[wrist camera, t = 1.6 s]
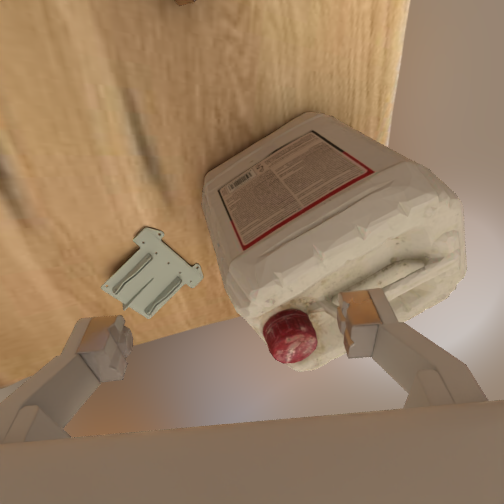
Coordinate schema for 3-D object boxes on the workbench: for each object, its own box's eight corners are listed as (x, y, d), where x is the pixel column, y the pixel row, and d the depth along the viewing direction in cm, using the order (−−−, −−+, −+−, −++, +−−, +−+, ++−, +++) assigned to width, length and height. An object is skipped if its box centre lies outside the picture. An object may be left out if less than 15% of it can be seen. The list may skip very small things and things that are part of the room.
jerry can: (240, 255, 62) (299, 401, 38) (184, 176, 50) (219, 318, 27) (352, 189, 60) (486, 301, 36) (321, 92, 48) (487, 165, 25)
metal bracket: (155, 333, 59) (86, 290, 50) (148, 316, 64) (84, 274, 55) (211, 277, 61) (153, 225, 51) (200, 264, 65) (145, 214, 56)
